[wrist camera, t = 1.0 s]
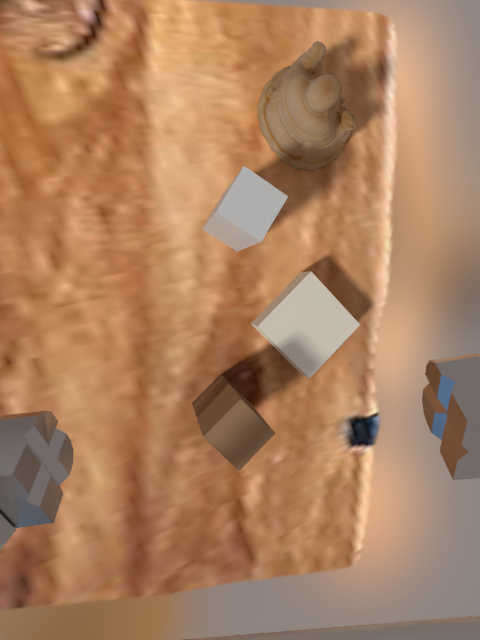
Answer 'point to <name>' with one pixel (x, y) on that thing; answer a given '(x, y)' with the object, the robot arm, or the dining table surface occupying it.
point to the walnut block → (231, 422)
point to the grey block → (245, 211)
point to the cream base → (305, 323)
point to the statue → (305, 113)
